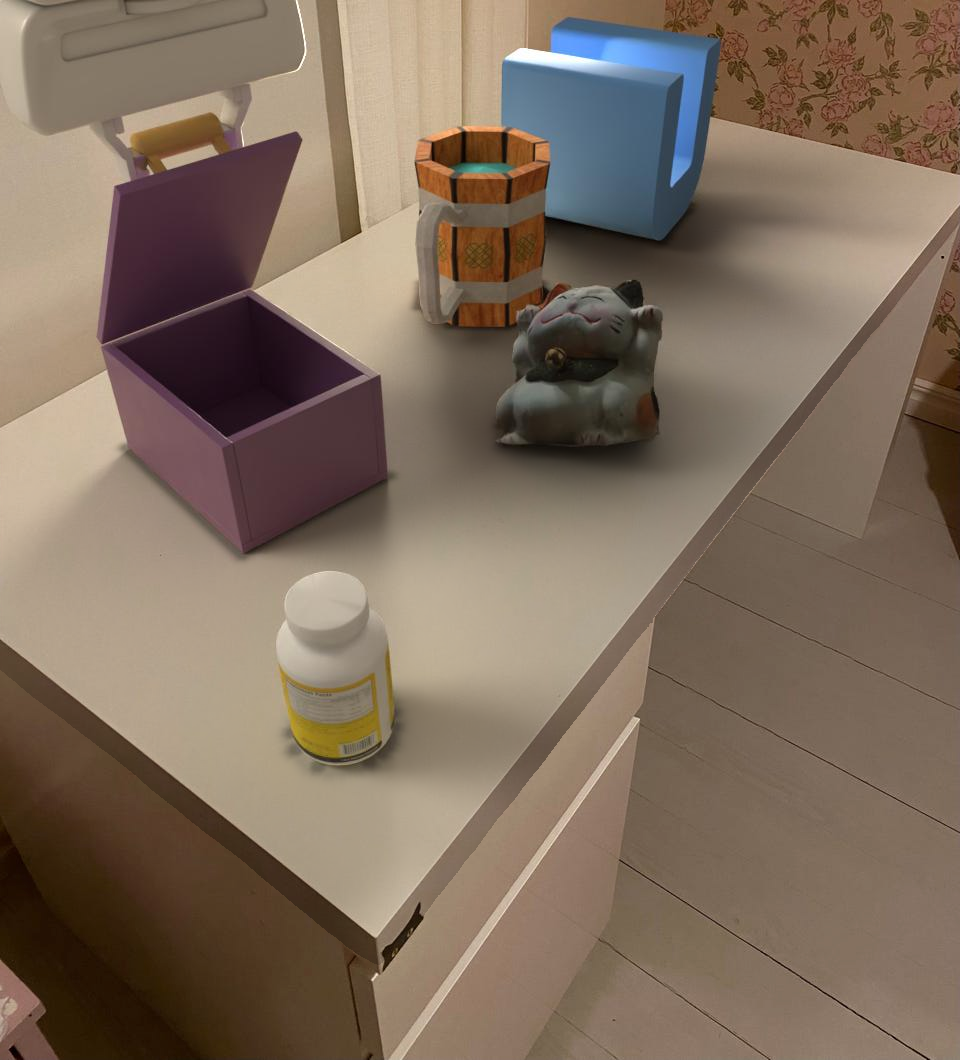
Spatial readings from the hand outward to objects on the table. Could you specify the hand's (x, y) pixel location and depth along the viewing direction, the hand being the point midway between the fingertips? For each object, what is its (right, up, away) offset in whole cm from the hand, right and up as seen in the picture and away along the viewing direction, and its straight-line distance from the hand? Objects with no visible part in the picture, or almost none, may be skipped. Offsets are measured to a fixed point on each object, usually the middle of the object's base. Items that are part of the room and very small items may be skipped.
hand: (182, 165), depth 72 cm
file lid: (0, -5, +4) cm, 6 cm away
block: (+35, +12, +51) cm, 63 cm away
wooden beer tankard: (+19, -3, +34) cm, 39 cm away
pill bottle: (+12, -38, -6) cm, 40 cm away
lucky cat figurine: (+28, -16, +18) cm, 38 cm away
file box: (+2, -20, +14) cm, 24 cm away
